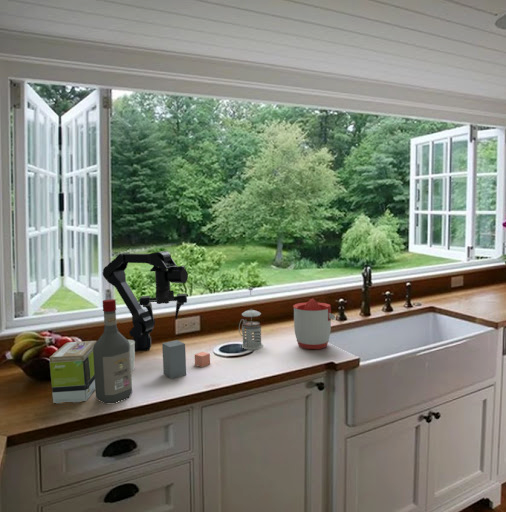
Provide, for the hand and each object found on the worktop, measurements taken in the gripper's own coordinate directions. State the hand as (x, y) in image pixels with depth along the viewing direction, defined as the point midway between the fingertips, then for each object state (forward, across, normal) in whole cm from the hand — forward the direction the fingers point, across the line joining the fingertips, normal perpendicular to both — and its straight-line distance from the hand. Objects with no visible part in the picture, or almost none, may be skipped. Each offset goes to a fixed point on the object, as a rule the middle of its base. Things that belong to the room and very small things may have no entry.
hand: (164, 320), depth 170 cm
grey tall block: (+13, +4, -27) cm, 30 cm away
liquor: (+13, -14, -42) cm, 46 cm away
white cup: (+13, -14, -18) cm, 26 cm away
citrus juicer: (+13, +61, -8) cm, 63 cm away
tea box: (+13, -26, -36) cm, 46 cm away
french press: (+13, +35, -2) cm, 37 cm away
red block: (+13, +14, -19) cm, 27 cm away
